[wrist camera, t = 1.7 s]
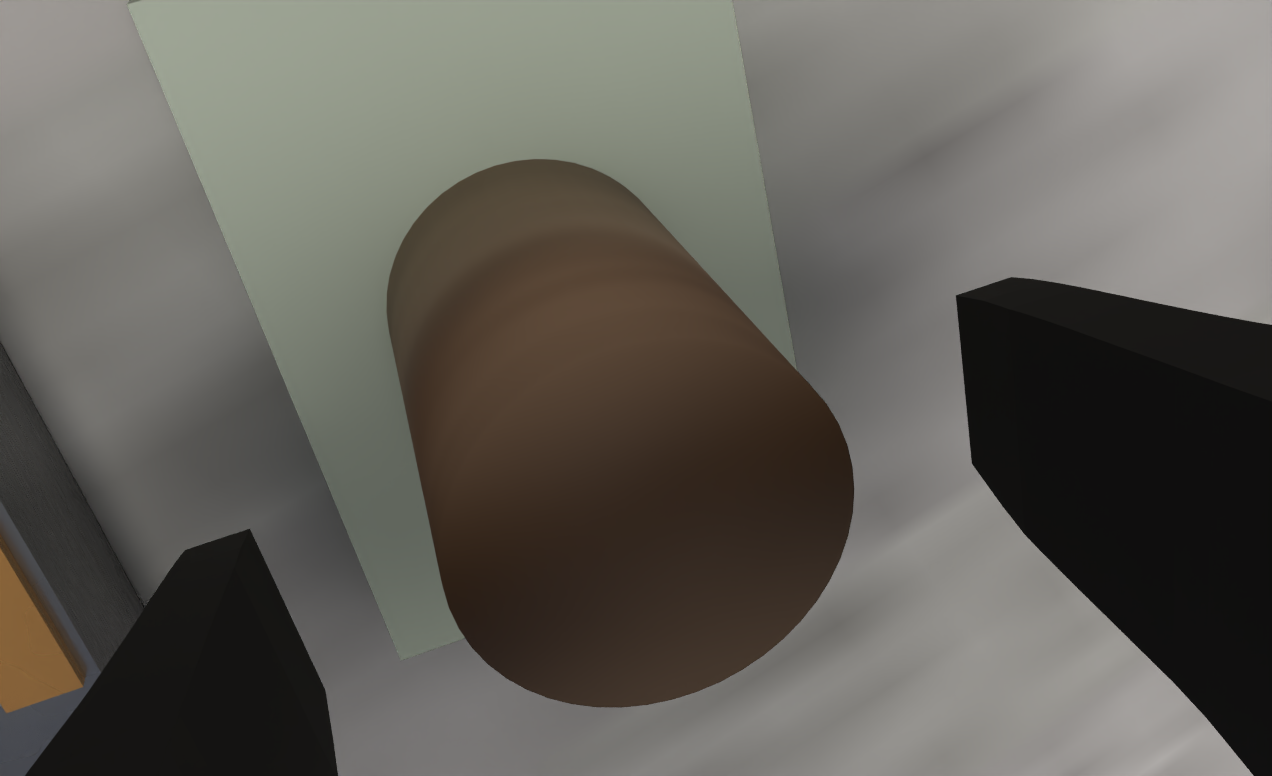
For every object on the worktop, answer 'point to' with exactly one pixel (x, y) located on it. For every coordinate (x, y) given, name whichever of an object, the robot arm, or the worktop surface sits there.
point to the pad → (440, 190)
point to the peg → (605, 442)
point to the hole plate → (48, 585)
